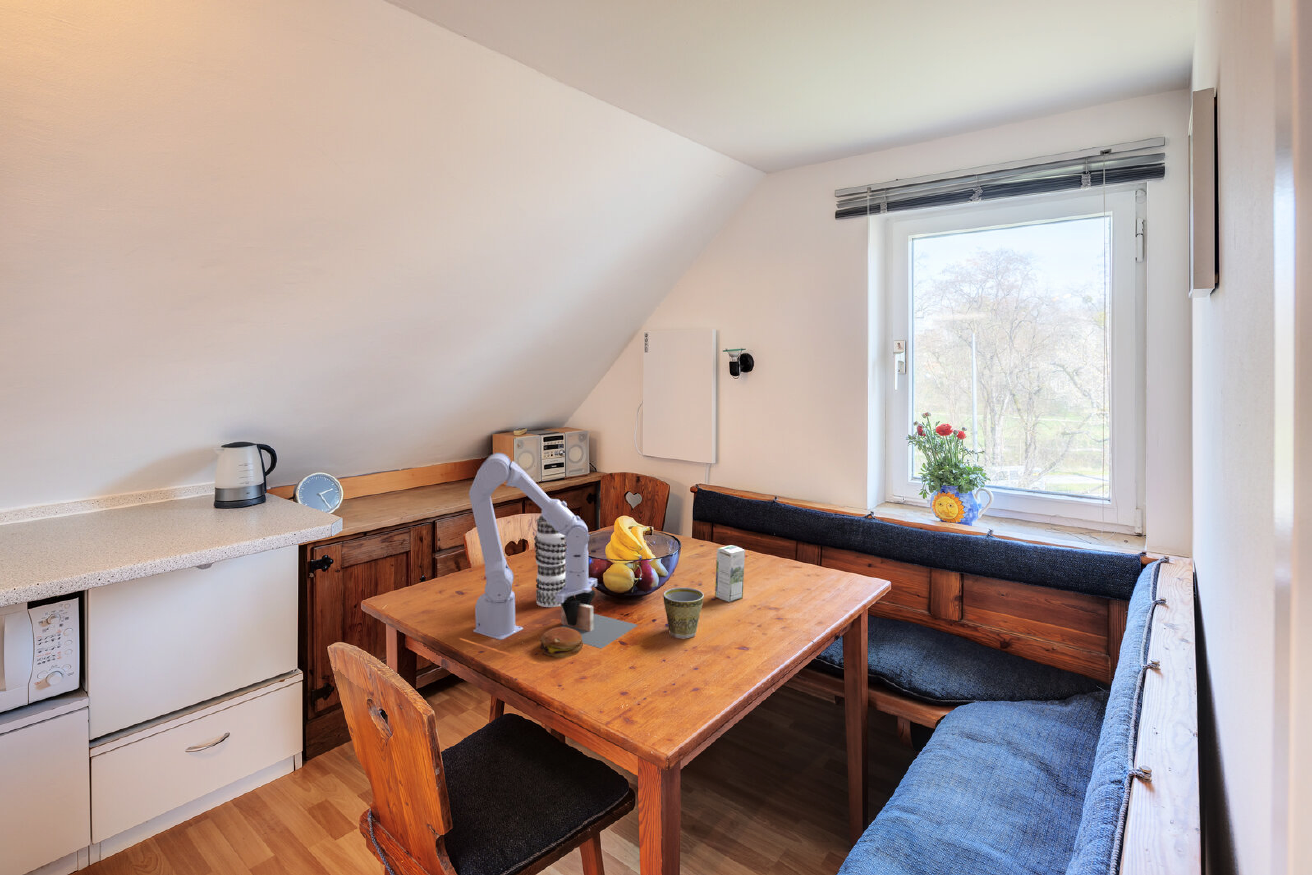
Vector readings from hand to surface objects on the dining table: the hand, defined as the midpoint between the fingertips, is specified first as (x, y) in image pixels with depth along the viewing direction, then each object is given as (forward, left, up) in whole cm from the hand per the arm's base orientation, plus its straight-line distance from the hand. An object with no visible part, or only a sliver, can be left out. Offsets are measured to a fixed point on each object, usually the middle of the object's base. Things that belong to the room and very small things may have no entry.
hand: (577, 621), depth 168 cm
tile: (0, 0, -1) cm, 1 cm away
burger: (+5, -12, -2) cm, 13 cm away
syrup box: (+24, +40, -2) cm, 46 cm away
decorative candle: (-16, +10, -2) cm, 19 cm away
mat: (+4, +1, -2) cm, 5 cm away
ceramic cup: (+24, +13, -2) cm, 27 cm away
